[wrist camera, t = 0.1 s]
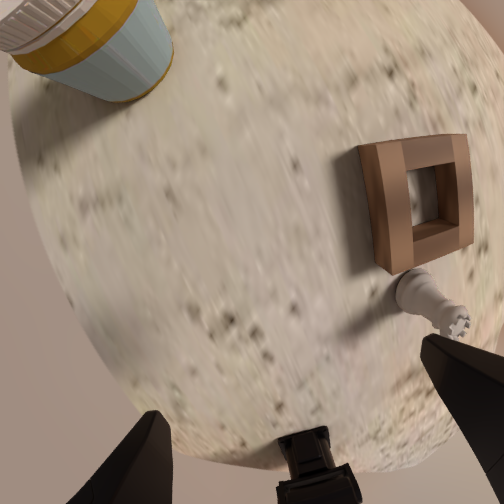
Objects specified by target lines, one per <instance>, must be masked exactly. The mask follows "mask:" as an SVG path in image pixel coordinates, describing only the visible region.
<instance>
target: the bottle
mask: <svg viewBox="0 0 504 504" xmlns="http://www.w3.org/2000/svg"><path fill="white" fill-rule="evenodd" d="M0 50H2V51H4V52H6V53H9V54H11V56H12V57H13V59H14V60H15V61H16V62H17V63H18V64H19V65H20V66H21V67H22V68H23V69H25V70H28V71H30V72H32V73H35V74H37V75H40V76H43V77H46V78H49V79H52V80H54V81H57V82H60V83H62V84H65V85H68V86H70V87H73V88H75V89H78V90H80V91H83V92H85V93H88V94H90V95H93V96H95V97H97V98H100V99H103V100H106V101H110V102H128V101H131V100H134V99H138V98H140V97H142V96H143V95H145V94H147V93H148V92H150V91H151V90H153V89H154V88H155V87H156V86H157V85H158V84H159V83H160V82H161V81H162V80H163V78H164V77H165V75H166V74H167V72H168V70H169V69H170V66H171V64H172V59H173V55H174V50H173V43H172V40H171V37H170V35H169V32H168V30H167V28H166V26H165V24H164V22H163V20H162V18H161V16H160V13H159V11H158V9H157V7H156V5H155V3H154V1H153V0H0Z"/></svg>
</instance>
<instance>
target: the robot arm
mask: <svg viewBox="0 0 504 504" xmlns="http://www.w3.org/2000/svg"><path fill="white" fill-rule="evenodd" d="M420 358H421V361H422V363H423V365H424V367H425V369H426V371H427V373H428V375H429V377H430V379H431V381H432V383H433V385H434V387H435V389H436V391H437V392H438V394H439V396H440V397H441V399H442V401H443V402H444V404H445V405H446V407H447V408H448V410H449V412H450V413H451V415H452V416H453V418H454V420H455V421H456V423H457V425H458V426H459V428H460V430H461V431H462V433H463V434H464V436H465V438H466V440H467V441H468V443H469V445H470V447H471V448H472V450H473V452H474V454H475V455H476V457H477V459H478V461H479V463H480V465H481V466H482V468H483V470H484V472H485V473H486V476H487V478H488V480H489V482H490V484H491V486H492V488H493V490H494V492H495V494H496V496H497V498H498V500H499V502H500V504H504V357H503V356H499V355H497V354H494V353H491V352H488V351H485V350H482V349H479V348H476V347H473V346H470V345H467V344H464V343H461V342H458V341H455V340H452V339H449V338H446V337H443V336H440V335H438V334H434V333H432V334H430V335H428V336H426V337H424V338H423V340H422V346H421V353H420ZM278 444H279V446H280V448H281V450H282V453H283V455H284V457H285V460H287V463H288V467H289V472H290V477H291V480H287V481H279V486H277V487H276V491H277V498H278V504H361V503H362V495H361V492H360V489H359V486H358V483H357V481H356V479H355V477H354V475H353V472H352V470H351V468H350V466H349V464H348V463H346V464H344V465H342V466H339V467H336V466H335V463H334V460H333V457H332V454H331V451H330V448H331V446H330V439H329V431H328V427H327V426H323V427H320V428H316V429H313V430H310V431H306V432H303V433H299V434H295V435H291V436H287V437H283V438H280V439H278ZM172 481H173V458H172V444H171V429H170V425H169V424H168V422H167V421H166V419H165V418H164V417H163V415H162V414H161V413H160V411H158V410H152V411H147V412H145V414H144V415H143V416H142V417H141V418H140V420H139V421H138V422H137V423H136V424H135V426H134V427H133V428H132V429H131V430H130V432H129V433H128V434H127V435H126V436H125V438H124V439H123V440H122V441H121V442H120V444H119V445H118V446H117V447H116V449H115V450H114V451H113V452H112V453H111V454H110V456H109V457H108V458H107V459H106V460H105V461H104V463H103V464H102V465H101V466H100V467H99V468H98V470H97V471H96V472H95V473H94V475H93V476H92V477H91V478H90V479H89V480H88V481H87V482H86V483H85V485H84V486H83V487H82V488H81V489H80V490H79V491H78V492H77V493H76V495H74V496H73V497H72V498H71V499H70V500H69V501H68V502H67V503H66V504H172Z"/></svg>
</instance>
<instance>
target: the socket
mask: <svg viewBox="0 0 504 504" xmlns="http://www.w3.org/2000/svg"><path fill="white" fill-rule="evenodd" d="M358 150H359V155H360V160H361V165H362V170H363V175H364V181H365V187H366V193H367V199H368V206H369V213H370V220H371V228H372V236H373V245H374V255H375V263H377V264H378V265H379V266H380V267H382V268H383V269H384V270H386V271H387V272H388V273H389V274H391V275H392V276H393V275H396V274H398V273H401V272H404V271H406V270H409V269H412V268H414V267H417V266H419V265H422V264H425V263H427V262H430V261H432V260H435V259H437V258H440V257H442V256H445V255H447V254H449V253H452V252H454V251H457V250H459V249H461V248H464V247H466V246H468V245H470V244H473V243H474V203H473V185H472V172H471V163H470V154H469V147H468V140H467V134H439V135H429V136H420V137H412V138H404V139H397V140H389V141H383V142H376V143H370V144H364V145H358ZM433 165H434V168H435V176H436V185H437V195H438V209H439V218H438V219H435V220H432V221H429V222H426V223H422V224H419V225H416V226H413V227H412V219H411V208H410V198H409V190H408V182H407V175H406V171H408V170H413V169H418V168H423V167H428V166H433Z"/></svg>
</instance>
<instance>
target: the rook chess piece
mask: <svg viewBox="0 0 504 504" xmlns="http://www.w3.org/2000/svg"><path fill="white" fill-rule="evenodd" d="M396 302H397V305H398V306H399V307H400V308H401V309H403V310H404V311H405V312H406V313H409V314H414V315H415V314H416V315H422V316H423V317H425V318H426V319H428V320H430V321H431V322H432V326H433V327H434V328H435V329H440V336H443V337H446V338H449V339H452V340H455V341H459V338H458V336H459V335H460V336H461V337H464V336H465V335H466V334H467V333H466V332H465V331H464V329H465V327H467V328H470V325H471V322H470V320H471V317H470V316H469V315H468V311H467V308H466V306H463V305H460V306H455V302H454V301H453V300H448V299H447V298H445V297H444V296H443V294H442V293H441V292H440V291H439V290H438V286H437V285H436V281H435V279H434V278H433V277H432V275H431V274H429V273H428V272H427V271H426V270H424V269H422V268H418V269H413V270H411V271H409V272H408V273H406V274H405V275H404V276H403V277H402V278H401V280H400V281H399V284H398V286H397V290H396Z"/></svg>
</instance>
